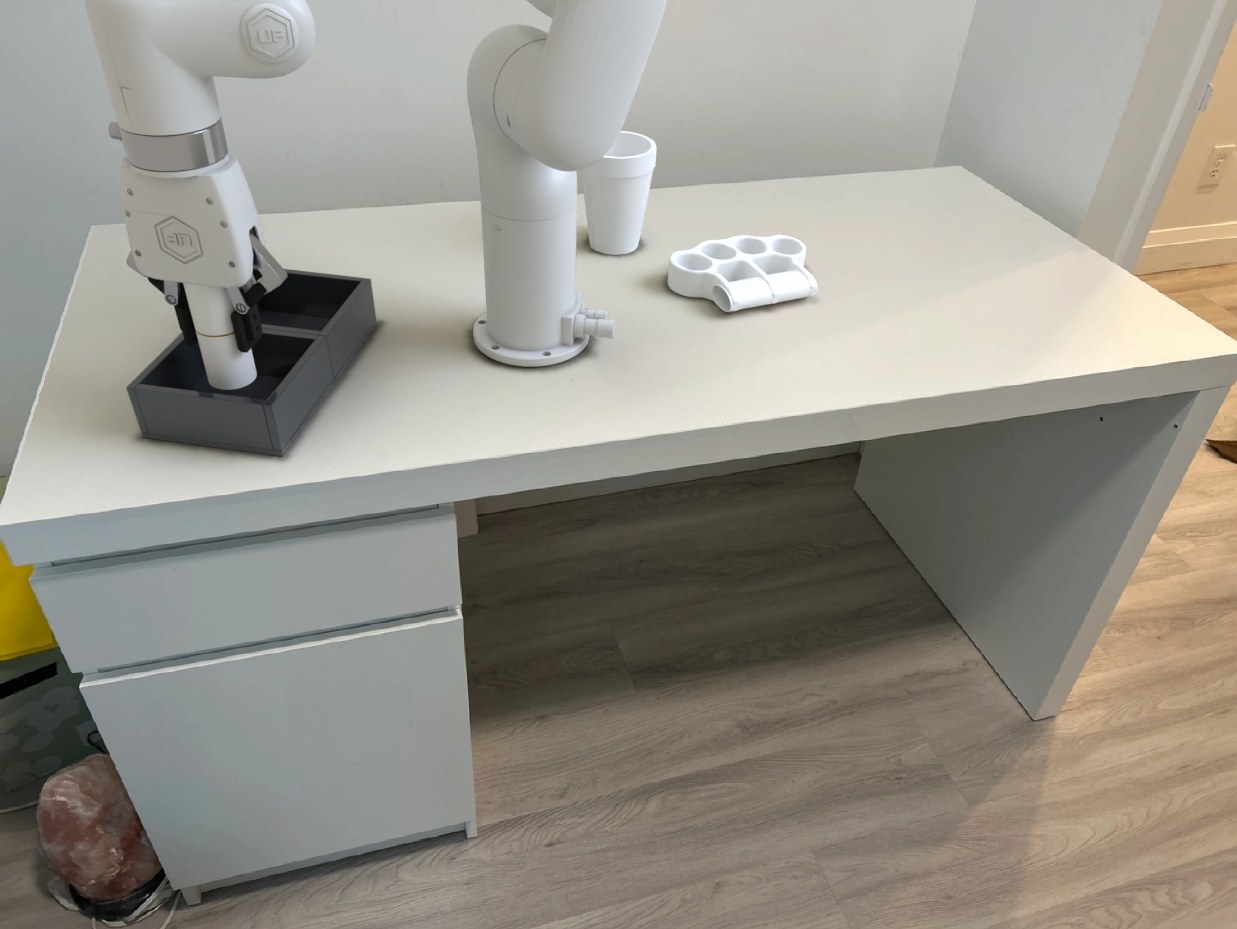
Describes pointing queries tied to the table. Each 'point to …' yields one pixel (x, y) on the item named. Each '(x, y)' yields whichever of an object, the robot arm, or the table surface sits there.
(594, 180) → the foam cup
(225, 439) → the left basin
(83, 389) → the table surface
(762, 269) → the knuckle duster
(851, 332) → the table surface
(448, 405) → the table surface
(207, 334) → the tube
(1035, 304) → the table surface
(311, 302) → the right basin
